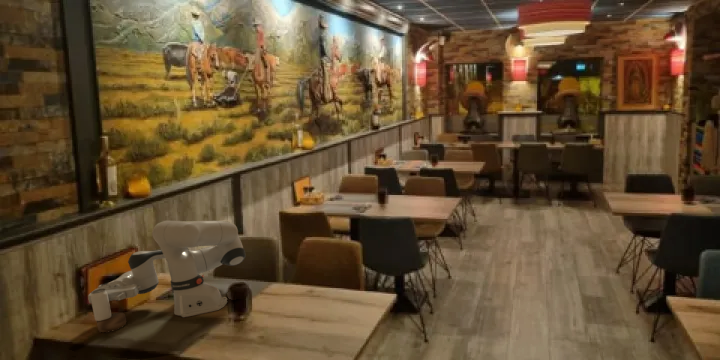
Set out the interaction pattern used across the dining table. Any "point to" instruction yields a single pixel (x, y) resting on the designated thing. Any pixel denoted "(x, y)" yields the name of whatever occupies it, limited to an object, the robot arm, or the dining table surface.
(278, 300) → the dining table surface
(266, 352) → the dining table surface
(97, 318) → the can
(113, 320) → the brown rounded flat block
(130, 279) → the robot arm
